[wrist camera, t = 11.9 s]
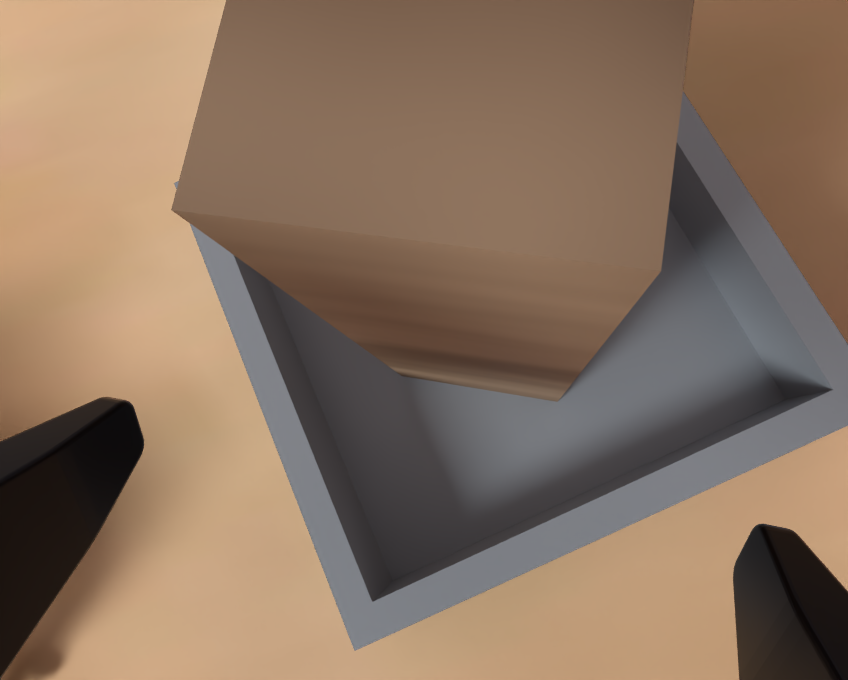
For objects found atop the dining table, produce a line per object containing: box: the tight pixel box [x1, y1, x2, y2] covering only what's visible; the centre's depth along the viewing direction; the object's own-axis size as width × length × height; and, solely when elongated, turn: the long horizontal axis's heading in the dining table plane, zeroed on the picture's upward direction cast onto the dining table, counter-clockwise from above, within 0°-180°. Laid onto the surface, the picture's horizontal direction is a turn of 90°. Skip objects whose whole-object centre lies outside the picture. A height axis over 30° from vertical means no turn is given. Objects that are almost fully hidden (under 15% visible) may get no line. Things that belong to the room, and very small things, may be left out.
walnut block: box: [171, 0, 694, 402], centre depth 12 cm, size 5×4×12 cm
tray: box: [174, 92, 848, 650], centre depth 16 cm, size 13×13×3 cm
